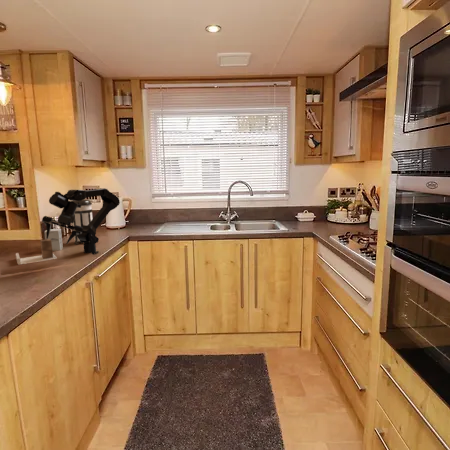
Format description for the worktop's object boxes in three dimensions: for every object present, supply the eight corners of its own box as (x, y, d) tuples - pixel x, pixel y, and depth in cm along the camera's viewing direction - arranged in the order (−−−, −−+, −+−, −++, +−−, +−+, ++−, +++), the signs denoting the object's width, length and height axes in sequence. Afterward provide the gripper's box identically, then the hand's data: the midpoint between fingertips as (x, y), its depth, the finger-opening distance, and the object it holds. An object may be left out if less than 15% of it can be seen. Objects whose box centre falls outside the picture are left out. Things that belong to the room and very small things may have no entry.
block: (51, 255, 170) (50, 238, 168) (53, 257, 166) (51, 240, 165) (42, 257, 167) (40, 240, 166) (43, 258, 164) (41, 241, 162)
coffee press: (65, 244, 202) (59, 196, 197) (86, 238, 216) (82, 194, 211) (83, 246, 194) (78, 196, 189) (104, 241, 208) (100, 194, 203)
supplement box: (46, 253, 179) (43, 231, 177) (49, 250, 186) (47, 229, 184) (60, 252, 181) (58, 230, 179) (63, 249, 188) (61, 228, 186)
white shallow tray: (53, 255, 174) (52, 248, 173) (57, 260, 164) (56, 252, 163) (16, 261, 164) (15, 253, 164) (18, 267, 154) (17, 258, 153)
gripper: (47, 202, 153) (34, 232, 148) (87, 214, 159) (76, 244, 154) (49, 207, 163) (37, 236, 158) (87, 219, 169) (76, 247, 164)
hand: (56, 241), depth 158 cm, fingers open, 9 cm apart
